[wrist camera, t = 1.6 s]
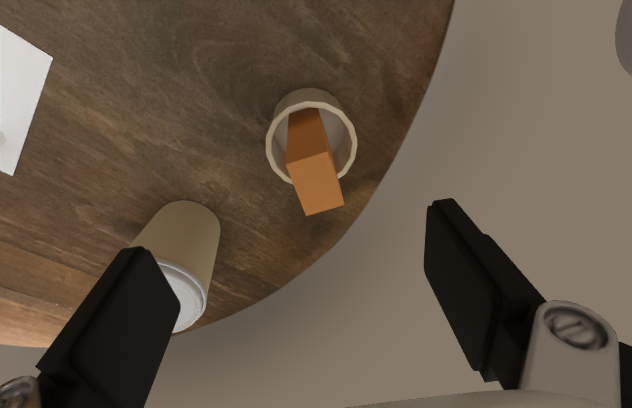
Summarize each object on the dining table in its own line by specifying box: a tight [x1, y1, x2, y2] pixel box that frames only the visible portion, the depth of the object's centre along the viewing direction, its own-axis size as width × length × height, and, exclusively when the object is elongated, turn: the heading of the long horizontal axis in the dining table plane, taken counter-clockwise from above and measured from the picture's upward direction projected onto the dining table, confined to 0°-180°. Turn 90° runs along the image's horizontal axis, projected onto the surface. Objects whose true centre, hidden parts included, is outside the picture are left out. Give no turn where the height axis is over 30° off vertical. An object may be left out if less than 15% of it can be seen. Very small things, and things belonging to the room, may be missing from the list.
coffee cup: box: [128, 200, 221, 333], centre depth 33 cm, size 9×9×12 cm
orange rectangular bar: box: [285, 107, 344, 216], centre depth 27 cm, size 3×4×12 cm, turn 17°
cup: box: [266, 88, 358, 184], centre depth 30 cm, size 8×8×6 cm
